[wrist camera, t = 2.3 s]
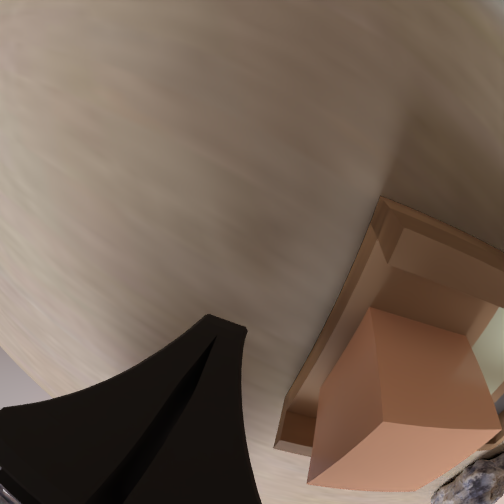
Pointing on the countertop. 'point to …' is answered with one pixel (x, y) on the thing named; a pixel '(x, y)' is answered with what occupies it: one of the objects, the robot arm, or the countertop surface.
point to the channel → (408, 306)
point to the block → (399, 408)
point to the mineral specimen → (475, 484)
